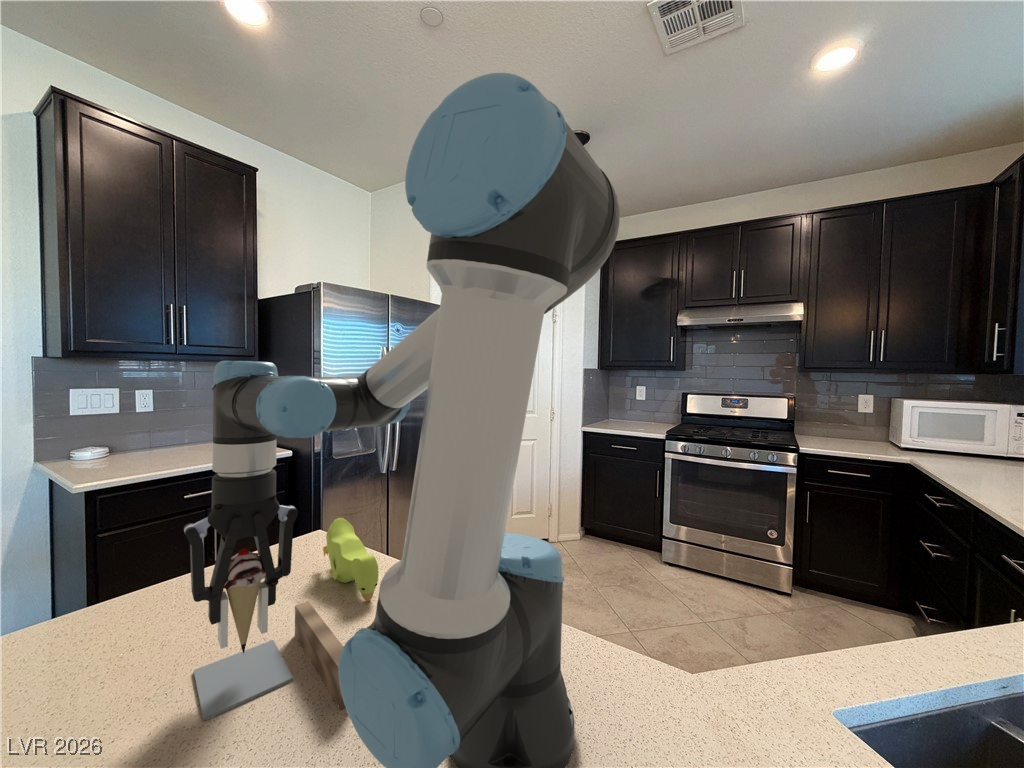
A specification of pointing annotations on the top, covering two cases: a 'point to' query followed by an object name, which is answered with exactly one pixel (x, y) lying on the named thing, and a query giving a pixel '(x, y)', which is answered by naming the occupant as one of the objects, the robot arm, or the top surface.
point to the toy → (351, 558)
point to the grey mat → (240, 678)
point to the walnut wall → (319, 647)
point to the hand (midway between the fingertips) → (243, 635)
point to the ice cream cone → (243, 589)
